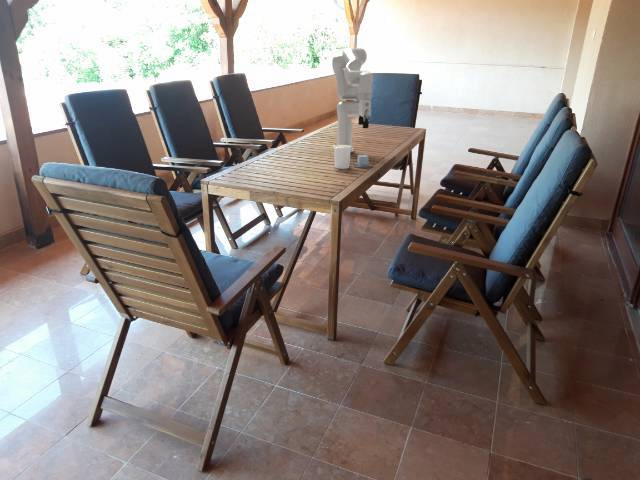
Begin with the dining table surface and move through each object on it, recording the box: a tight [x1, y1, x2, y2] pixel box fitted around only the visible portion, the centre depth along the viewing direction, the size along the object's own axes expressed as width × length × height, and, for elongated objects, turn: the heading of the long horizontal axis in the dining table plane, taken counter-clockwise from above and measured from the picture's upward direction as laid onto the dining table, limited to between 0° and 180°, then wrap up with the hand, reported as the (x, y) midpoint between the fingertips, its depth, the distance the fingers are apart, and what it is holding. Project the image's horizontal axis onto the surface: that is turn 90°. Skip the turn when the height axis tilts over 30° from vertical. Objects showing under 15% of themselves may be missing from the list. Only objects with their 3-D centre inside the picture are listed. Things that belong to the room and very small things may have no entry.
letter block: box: [356, 154, 369, 166], centre depth 279 cm, size 5×5×5 cm
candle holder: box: [333, 144, 352, 170], centre depth 273 cm, size 10×10×12 cm
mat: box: [352, 162, 374, 169], centre depth 280 cm, size 10×9×1 cm
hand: (363, 126), depth 277 cm, fingers open, 9 cm apart
